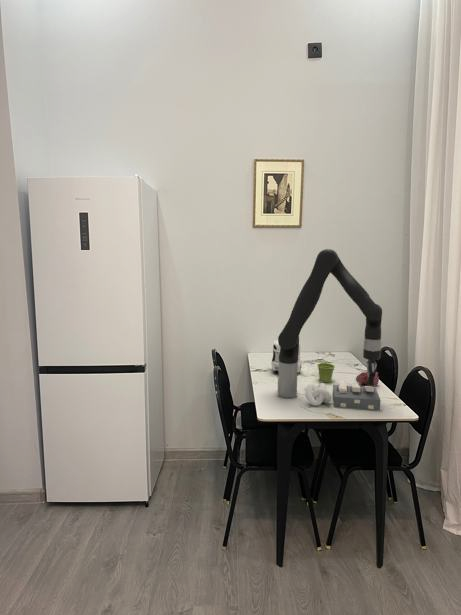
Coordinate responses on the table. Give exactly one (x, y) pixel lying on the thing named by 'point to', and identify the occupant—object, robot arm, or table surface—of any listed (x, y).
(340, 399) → the switch unit
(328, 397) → the white knot sculpture
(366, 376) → the flower
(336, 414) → the table surface
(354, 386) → the rocker
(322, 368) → the plant pot
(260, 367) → the table surface
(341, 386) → the rocker
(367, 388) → the rocker
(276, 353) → the milk container
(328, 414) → the table surface
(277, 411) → the table surface
